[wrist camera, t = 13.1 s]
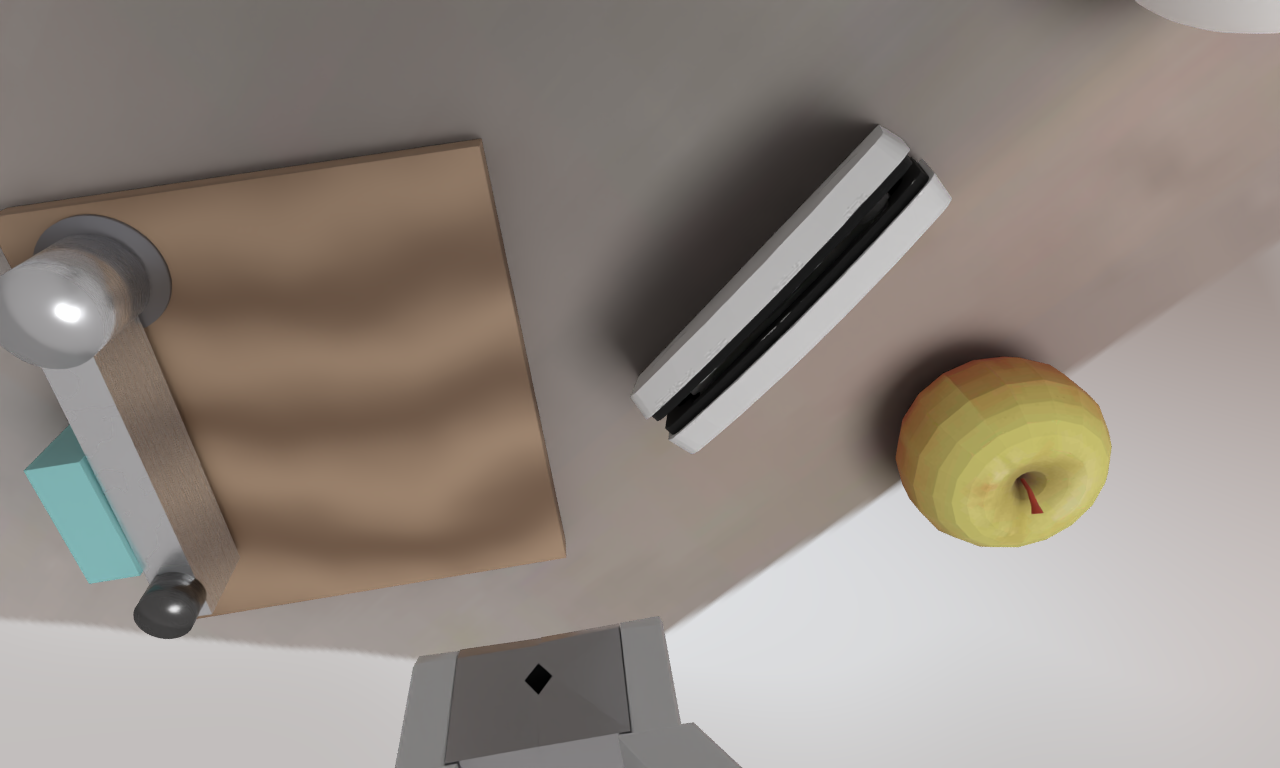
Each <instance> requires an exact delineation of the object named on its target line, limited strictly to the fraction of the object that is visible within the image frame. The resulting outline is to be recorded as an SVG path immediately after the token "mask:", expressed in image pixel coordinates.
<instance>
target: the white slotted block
mask: <svg viewBox="0 0 1280 768" xmlns="http://www.w3.org/2000/svg"><path fill="white" fill-rule="evenodd" d="M909 150H910V148H909V147H908V146H907V145H906V144H905V142H904V141H903V140H902V139H901V138H900V137H899V136H897V135H895V134H894V133H892V132H890V131H889V130H887V129H885V128H884V127H882V126H880V125H878V126H877V127H876V128H875V129H874V130H873V131H872V132H871V133H870V134H869V135H868V136H867V137H866V138H865V139H864V140H863V141H862V142H861V143H860V144H859V146H858V147H857V148H856V149H855V150H854V151H853V152H852V153H851V154H850V155H849V156H848V157H847V158H846V159H845V160H844V161H843V162H842V163H841V164H840V165H839V167H838V168H837V169H836V170H835V171H834V172H833V173H832V174H831V175H830V176H829V177H828V178H827V179H826V180H825V181H824V182H823V183H822V184H821V185H820V186H819V188H818V189H817V190H816V191H815V192H814V193H813V194H812V195H811V196H810V197H809V198H808V199H807V200H806V201H805V202H804V203H803V204H802V205H801V206H800V207H799V208H798V210H797V211H796V212H795V213H794V214H793V215H792V216H791V217H790V218H789V219H788V220H787V221H786V222H785V223H784V224H783V225H782V226H781V227H780V228H779V229H778V231H777V232H776V233H775V234H774V235H773V236H772V237H771V238H770V239H769V240H768V241H767V242H766V243H765V244H764V245H763V246H762V247H761V248H760V249H759V250H758V251H757V253H756V254H755V255H754V256H753V257H752V258H751V259H750V260H749V261H748V262H747V263H746V264H745V265H744V266H743V267H742V268H741V269H740V270H739V271H738V272H737V274H736V275H735V276H734V277H733V278H732V279H731V280H730V281H729V282H728V283H727V284H726V285H725V286H724V287H723V288H722V289H721V290H720V291H719V292H718V293H717V294H716V296H715V297H714V298H713V299H712V300H711V301H710V302H709V303H708V304H707V305H706V306H705V307H704V308H703V309H702V310H701V311H700V312H699V313H698V314H697V315H696V317H695V318H694V319H693V320H692V321H691V322H690V323H689V324H688V325H687V326H686V327H685V328H684V329H683V330H682V331H681V332H680V333H679V334H678V335H677V336H676V337H675V339H674V340H673V341H672V342H671V343H670V344H669V345H668V346H667V347H666V348H665V349H664V350H663V351H662V352H661V353H660V354H659V355H658V356H657V357H656V358H655V360H654V361H653V362H652V363H651V364H650V365H649V366H648V367H647V368H646V369H645V370H644V371H643V372H642V373H641V374H640V375H639V377H638V379H637V382H636V384H635V387H634V389H633V391H632V394H631V396H630V397H631V399H632V400H633V402H634V403H635V404H636V406H637V407H638V409H639V410H640V411H641V413H642V414H643V416H644V417H645V418H646V419H648V418H649V417H651V416H652V417H653V418H655V419H656V420H657V421H659V420H661V419H662V418H664V417H665V416H666V415H667V420H666V427H665V429H667V430H668V431H669V440H670V441H671V442H673V443H674V444H676V445H678V446H679V447H681V448H682V449H684V450H686V451H687V452H689V453H690V454H694V453H696V452H697V451H699V450H700V449H701V448H703V447H704V446H705V445H706V444H707V443H709V442H710V441H711V440H712V439H713V438H714V437H716V436H717V435H718V434H719V433H720V432H722V431H723V430H724V429H725V428H726V427H727V426H728V425H730V424H731V423H732V422H733V421H734V420H735V419H736V418H738V417H739V416H740V415H741V414H742V413H743V412H745V411H746V410H747V409H748V408H749V407H750V406H751V405H752V404H753V403H754V402H755V401H757V400H758V399H759V398H760V397H761V396H762V395H763V394H764V393H765V392H766V391H767V390H769V389H770V388H771V387H772V386H773V385H774V384H775V383H776V382H777V381H778V380H779V379H781V378H782V377H783V376H784V375H785V374H786V373H787V372H788V371H789V370H790V369H791V368H792V367H793V366H794V365H796V364H797V363H798V362H799V361H800V360H801V359H802V358H803V357H804V356H805V355H806V354H807V353H808V352H809V351H810V350H811V349H812V348H813V347H814V346H815V345H816V344H817V343H818V342H819V341H820V340H821V339H822V338H823V337H824V336H825V335H826V334H827V333H828V332H829V331H830V330H831V329H832V328H833V327H834V326H835V325H836V324H837V323H838V322H839V321H840V320H841V319H842V318H844V317H845V316H846V315H847V314H848V313H849V312H850V311H851V310H852V308H853V307H854V306H855V305H856V304H857V303H858V302H859V301H860V300H861V299H862V298H863V297H864V296H865V295H866V294H867V293H868V292H869V291H870V290H871V289H872V288H873V287H874V286H875V285H876V284H877V283H878V282H879V280H880V279H881V278H882V277H883V276H884V275H885V274H886V273H887V272H888V271H889V270H890V269H891V268H892V267H893V266H894V265H895V264H896V263H897V262H898V261H899V260H900V258H901V257H902V256H903V255H904V254H905V253H906V252H907V251H908V250H909V249H910V248H911V246H912V245H913V244H914V243H915V242H916V241H917V240H918V239H919V238H920V237H921V236H922V234H923V233H924V232H925V231H926V230H927V229H928V228H929V227H930V226H931V224H932V223H933V222H934V221H935V220H936V219H937V218H938V217H939V216H940V214H941V213H942V212H943V211H944V210H945V209H946V208H947V206H948V205H949V203H950V201H951V200H952V198H951V196H950V195H949V193H948V192H947V190H946V189H945V188H944V186H943V185H942V183H941V182H940V180H939V179H938V177H937V176H936V174H935V173H934V172H933V170H932V169H931V168H930V167H929V166H928V165H927V163H926V162H925V161H924V160H923V159H921V160H920V161H919V162H918V163H917V162H916V161H915V160H914V159H913V158H912V157H910V158H909V157H908V155H907V153H908V152H909ZM887 192H888V193H887ZM886 193H887V194H886ZM811 273H812V274H811ZM810 274H811V275H810ZM809 275H810V276H809ZM808 276H809V277H808ZM807 277H808V278H807ZM806 278H807V279H806ZM805 279H806V280H805ZM804 280H805V281H804ZM803 281H804V282H803ZM802 282H803V283H802ZM801 283H802V284H801ZM800 284H801V285H800ZM799 285H800V286H799Z"/></svg>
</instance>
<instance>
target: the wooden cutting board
mask: <svg viewBox="0 0 1280 768" xmlns="http://www.w3.org/2000/svg"><path fill="white" fill-rule="evenodd" d="M76 234H93V235H99V236H102V237H106V238H108V239H111V240H113V241H115V242H117V243H119V244H120V245H122V246H123V247H125V248H126V249H127V250H129V251H130V252H131V253H132V254H133V255H134V256H135V257H136V258H137V259H138V261H139V262H140V263H141V265H142V266H143V268H144V270H145V272H146V274H147V277H148V280H149V284H150V296H149V300H148V303H147V305H146V307H145V309H144V310H143V311H142V313H141V314H139V315H138V316H139V319H140V321H141V323H142V326H143V328H144V330H145V333H146V335H147V338H148V340H149V342H150V345H151V347H152V349H153V352H154V354H155V357H156V359H157V361H158V364H159V366H160V368H161V371H162V373H163V376H164V378H165V380H166V383H167V385H168V387H169V390H170V392H171V395H172V397H173V399H174V402H175V404H176V406H177V409H178V411H179V414H180V416H181V418H182V421H183V423H184V425H185V428H186V430H187V433H188V435H189V437H190V440H191V442H192V444H193V447H194V449H195V452H196V454H197V456H198V459H199V461H200V463H201V466H202V468H203V471H204V473H205V475H206V478H207V480H208V482H209V485H210V487H211V490H212V492H213V494H214V497H215V499H216V501H217V504H218V506H219V509H220V511H221V513H222V516H223V518H224V520H225V523H226V525H227V528H228V530H229V532H230V535H231V537H232V539H233V542H234V544H235V547H236V549H237V551H238V554H239V556H240V559H239V561H238V563H237V565H236V567H235V569H234V571H233V573H232V575H231V577H230V579H229V581H228V583H227V585H226V587H225V589H224V591H223V593H222V595H221V597H220V599H219V601H218V603H217V605H216V607H215V609H214V611H213V613H212V614H210V615H203V616H198V617H197V619H198V618H205V617H211V616H217V615H223V614H229V613H235V612H241V611H247V610H253V609H259V608H265V607H271V606H277V605H283V604H289V603H295V602H301V601H307V600H313V599H319V598H325V597H331V596H337V595H343V594H349V593H355V592H362V591H368V590H374V589H380V588H386V587H392V586H398V585H404V584H410V583H416V582H422V581H428V580H434V579H440V578H446V577H452V576H458V575H464V574H470V573H476V572H482V571H488V570H494V569H500V568H506V567H512V566H519V565H525V564H531V563H537V562H543V561H549V560H555V559H561V558H566V542H565V536H564V531H563V526H562V521H561V517H560V512H559V507H558V502H557V497H556V493H555V488H554V483H553V478H552V474H551V469H550V464H549V459H548V454H547V450H546V445H545V440H544V435H543V431H542V426H541V421H540V416H539V411H538V407H537V402H536V397H535V392H534V387H533V383H532V378H531V373H530V368H529V364H528V359H527V354H526V349H525V344H524V340H523V335H522V330H521V325H520V321H519V316H518V311H517V306H516V301H515V297H514V292H513V287H512V282H511V278H510V273H509V268H508V263H507V258H506V254H505V249H504V244H503V239H502V234H501V230H500V225H499V220H498V215H497V211H496V206H495V201H494V196H493V191H492V187H491V182H490V177H489V172H488V168H487V163H486V158H485V153H484V148H483V144H482V139H475V140H469V141H462V142H455V143H448V144H441V145H434V146H427V147H421V148H414V149H407V150H400V151H393V152H386V153H380V154H373V155H366V156H359V157H352V158H345V159H338V160H332V161H325V162H318V163H311V164H304V165H297V166H291V167H284V168H277V169H270V170H263V171H256V172H249V173H243V174H236V175H229V176H222V177H215V178H208V179H202V180H195V181H188V182H181V183H174V184H167V185H160V186H154V187H147V188H140V189H133V190H126V191H119V192H112V193H106V194H99V195H92V196H85V197H78V198H71V199H65V200H58V201H51V202H44V203H37V204H30V205H23V206H17V207H10V208H6V209H4V210H2V211H0V247H1V249H2V251H3V253H4V255H5V257H6V259H7V261H8V263H9V264H10V266H11V268H12V269H13V268H14V267H16V266H18V265H19V264H21V263H23V262H24V261H26V260H28V259H29V258H31V257H33V256H34V255H36V254H37V253H39V252H41V251H42V250H44V249H46V248H47V247H49V246H51V245H52V244H54V243H56V242H57V241H59V240H61V239H63V238H65V237H68V236H71V235H76Z"/></svg>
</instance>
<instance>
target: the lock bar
mask: <svg viewBox="0 0 1280 768" xmlns="http://www.w3.org/2000/svg"><path fill="white" fill-rule="evenodd" d="M149 296H150V284H149V280H148V277H147V274H146V272H145V270H144V268H143V266H142V265H141V263H140V262H139V261H138V259H137V258H136V257H135V256H134V255H133V254H132V253H131V252H130V251H129V250H127V249H126V248H125V247H123V246H122V245H120V244H119V243H117V242H115V241H113V240H111V239H108V238H106V237H102V236H99V235H93V234H76V235H71V236H68V237H65V238H63V239H61V240H59V241H57V242H56V243H54V244H52V245H51V246H49V247H47V248H46V249H44V250H42V251H41V252H39V253H37V254H36V255H34V256H33V257H31V258H29V259H28V260H26V261H24V262H23V263H21V264H19V265H18V266H16V267H14V268H13V269H11V270H9V271H8V272H6V273H4V274H3V275H1V276H0V345H1V346H2V347H4V348H5V349H6V350H7V351H8V352H10V353H11V354H13V355H14V356H16V357H17V358H19V359H21V360H23V361H25V362H27V363H30V364H32V365H35V366H39V367H42V369H43V371H44V373H45V375H46V377H47V379H48V381H49V383H50V385H51V387H52V389H53V391H54V393H55V396H56V398H57V400H58V402H59V404H60V406H61V408H62V410H63V412H64V414H65V416H66V418H67V420H68V422H69V424H70V426H71V428H72V430H73V432H74V434H75V436H76V438H77V440H78V442H79V444H80V446H81V448H82V450H83V452H84V454H85V456H86V458H87V460H88V462H89V464H90V466H91V468H92V470H93V472H94V474H95V476H96V478H97V480H98V482H99V484H100V486H101V488H102V490H103V492H104V494H105V496H106V498H107V500H108V502H109V504H110V506H111V508H112V510H113V512H114V514H115V516H116V518H117V520H118V522H119V524H120V526H121V528H122V530H123V532H124V534H125V536H126V538H127V540H128V542H129V544H130V546H131V548H132V550H133V552H134V554H135V556H136V558H137V560H138V562H139V564H140V566H141V568H142V570H143V572H144V574H145V576H146V578H147V580H148V582H149V584H150V585H149V586H148V588H147V590H146V591H145V593H144V595H143V596H142V598H141V599H140V601H139V603H138V604H137V606H136V608H135V610H134V620H135V622H136V624H137V625H138V627H139V628H140V629H141V630H143V631H144V632H145V633H147V634H149V635H151V636H154V637H157V638H163V639H173V638H178V637H181V636H183V635H185V634H187V633H188V632H189V631H190V630H191V628H192V627H193V625H194V623H195V621H196V619H197V617H198V616H203V615H210V614H212V613H213V611H214V609H215V607H216V605H217V603H218V601H219V599H220V597H221V595H222V593H223V591H224V589H225V587H226V585H227V583H228V581H229V579H230V577H231V575H232V573H233V571H234V569H235V567H236V565H237V563H238V561H239V559H240V556H239V554H238V551H237V549H236V547H235V544H234V542H233V539H232V537H231V535H230V532H229V530H228V528H227V525H226V523H225V520H224V518H223V516H222V513H221V511H220V509H219V506H218V504H217V501H216V499H215V497H214V494H213V492H212V490H211V487H210V485H209V482H208V480H207V478H206V475H205V473H204V471H203V468H202V466H201V463H200V461H199V459H198V456H197V454H196V452H195V449H194V447H193V444H192V442H191V440H190V437H189V435H188V433H187V430H186V428H185V425H184V423H183V421H182V418H181V416H180V414H179V411H178V409H177V406H176V404H175V402H174V399H173V397H172V395H171V392H170V390H169V387H168V385H167V383H166V380H165V378H164V376H163V373H162V371H161V368H160V366H159V364H158V361H157V359H156V357H155V354H154V352H153V349H152V347H151V345H150V342H149V340H148V338H147V335H146V333H145V330H144V328H143V326H142V323H141V321H140V319H139V316H138V315H139V314H141V313H142V311H143V310H144V309H145V307H146V305H147V303H148V300H149Z"/></svg>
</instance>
